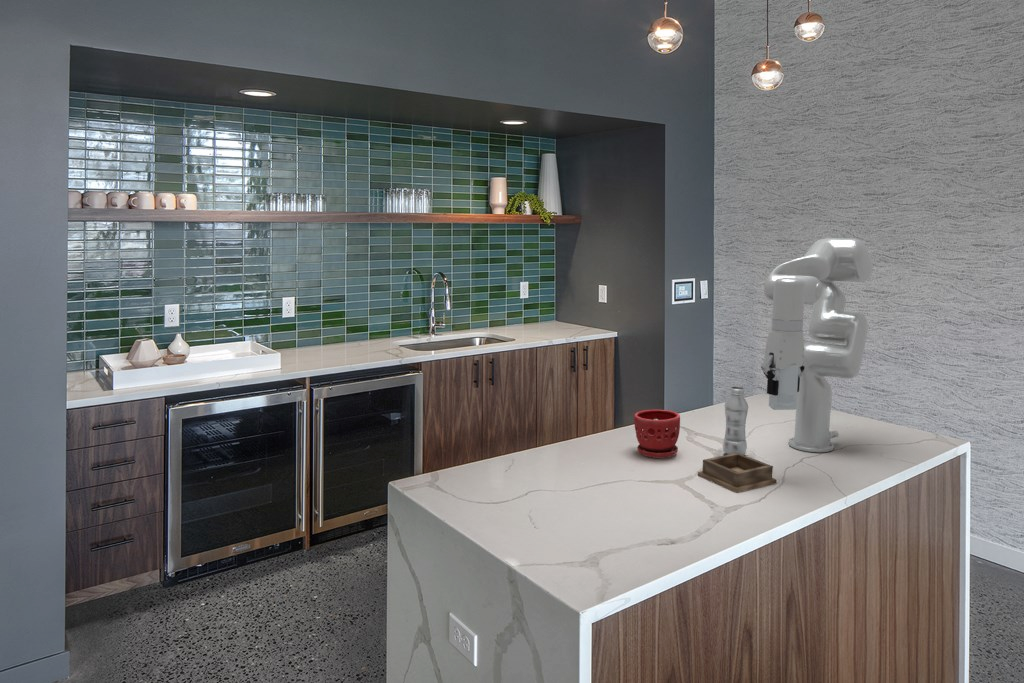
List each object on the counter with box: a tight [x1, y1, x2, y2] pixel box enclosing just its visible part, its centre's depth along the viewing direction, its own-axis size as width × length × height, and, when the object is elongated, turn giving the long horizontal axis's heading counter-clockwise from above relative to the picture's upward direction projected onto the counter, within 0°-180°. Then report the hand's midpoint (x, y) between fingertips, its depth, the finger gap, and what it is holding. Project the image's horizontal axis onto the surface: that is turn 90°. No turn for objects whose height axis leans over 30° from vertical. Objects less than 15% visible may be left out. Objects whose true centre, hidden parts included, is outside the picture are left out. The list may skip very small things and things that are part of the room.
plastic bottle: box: [722, 386, 749, 455], centre depth 206 cm, size 6×7×20 cm
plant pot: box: [633, 409, 681, 459], centre depth 209 cm, size 13×13×12 cm
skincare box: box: [768, 364, 799, 411], centre depth 187 cm, size 6×4×12 cm
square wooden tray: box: [697, 453, 778, 494], centre depth 188 cm, size 14×14×4 cm
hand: (782, 392), depth 188 cm, fingers closed on skincare box, 7 cm apart
